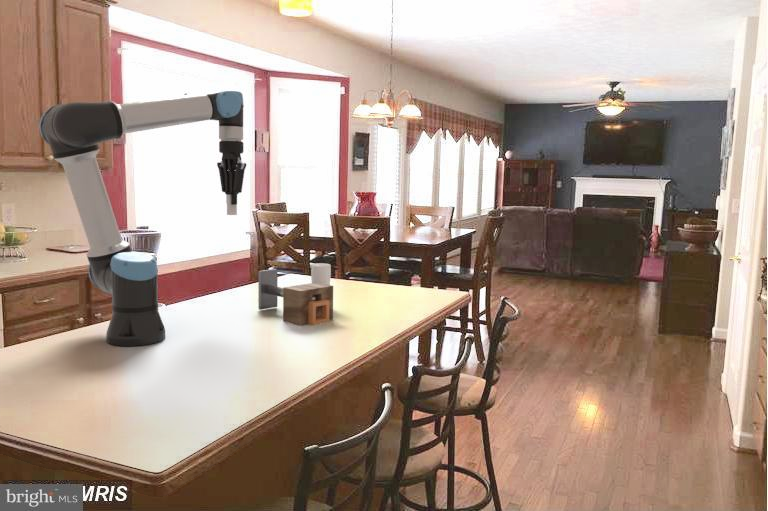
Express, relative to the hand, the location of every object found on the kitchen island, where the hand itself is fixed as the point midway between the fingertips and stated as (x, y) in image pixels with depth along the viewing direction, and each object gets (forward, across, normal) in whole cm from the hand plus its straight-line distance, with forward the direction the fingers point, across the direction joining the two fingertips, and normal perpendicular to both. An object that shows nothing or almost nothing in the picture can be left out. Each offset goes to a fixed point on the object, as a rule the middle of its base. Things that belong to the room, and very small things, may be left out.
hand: (231, 214), depth 206 cm
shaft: (+32, -15, -12) cm, 37 cm away
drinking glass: (+33, -12, -28) cm, 45 cm away
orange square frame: (+29, -29, -12) cm, 43 cm away
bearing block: (+32, -24, -12) cm, 42 cm away
